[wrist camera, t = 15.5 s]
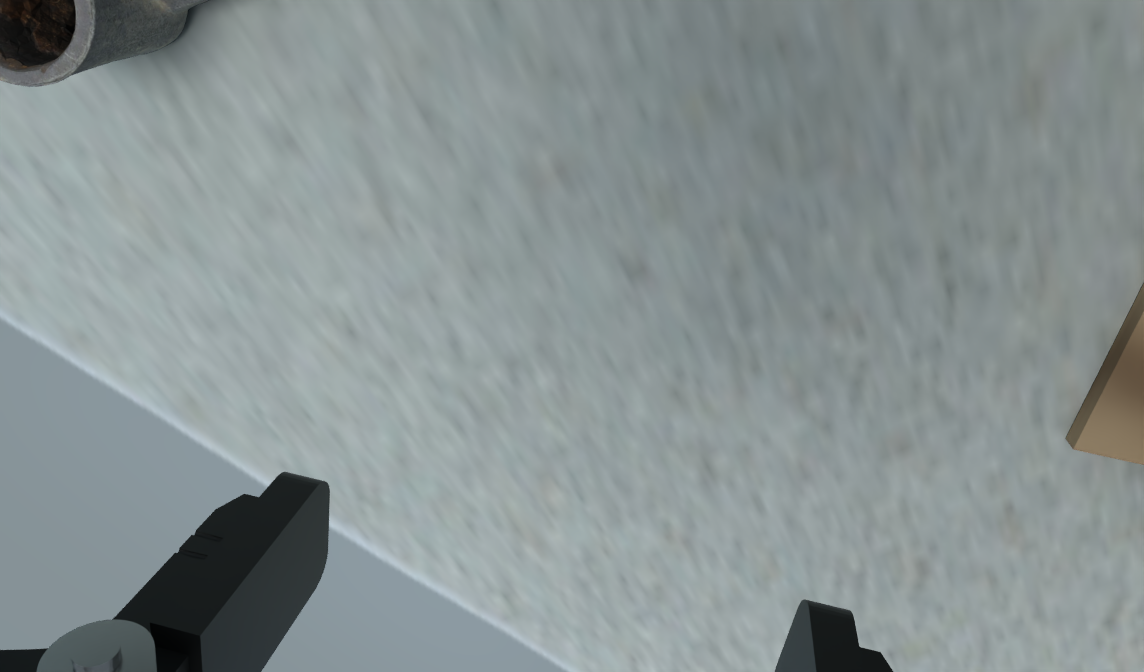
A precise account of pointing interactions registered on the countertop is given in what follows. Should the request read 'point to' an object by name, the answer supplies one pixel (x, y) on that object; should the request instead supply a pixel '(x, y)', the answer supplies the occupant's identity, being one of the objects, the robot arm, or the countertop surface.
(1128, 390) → the wooden tray with rails
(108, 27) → the pipe
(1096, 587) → the countertop surface
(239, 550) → the robot arm
